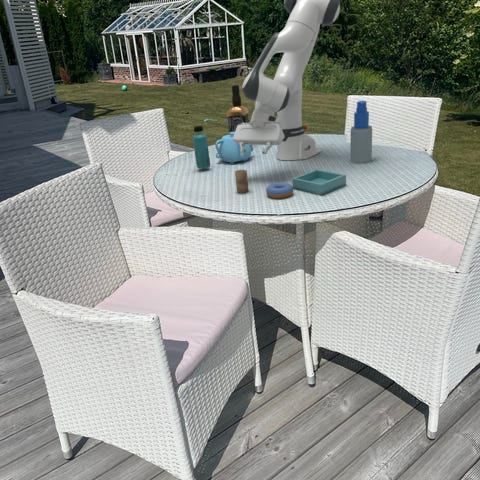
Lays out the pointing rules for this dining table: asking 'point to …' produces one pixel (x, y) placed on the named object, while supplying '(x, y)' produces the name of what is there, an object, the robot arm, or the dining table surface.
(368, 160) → the spray bottle
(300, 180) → the box
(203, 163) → the beverage bottle
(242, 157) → the decorative pot
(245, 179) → the brown wooden cylinder
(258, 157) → the dining table surface
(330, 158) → the dining table surface
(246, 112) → the whiskey bottle
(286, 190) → the doughnut
